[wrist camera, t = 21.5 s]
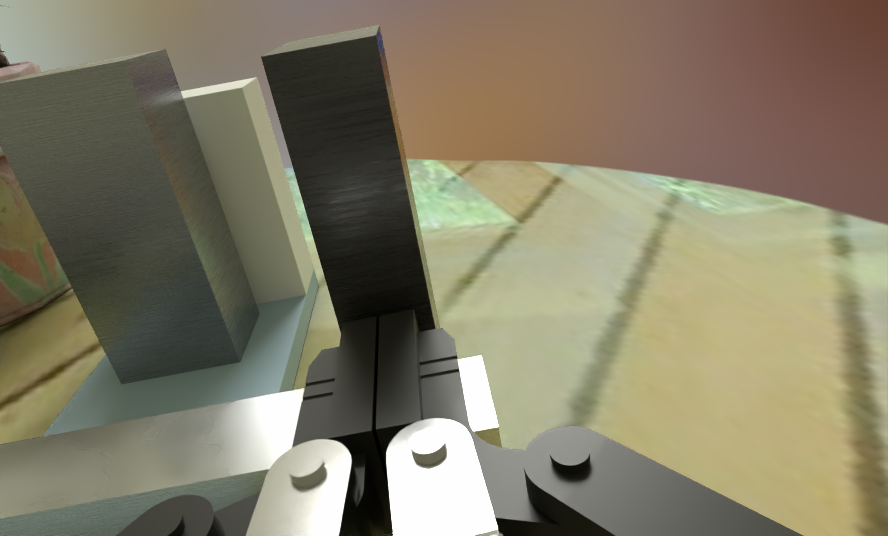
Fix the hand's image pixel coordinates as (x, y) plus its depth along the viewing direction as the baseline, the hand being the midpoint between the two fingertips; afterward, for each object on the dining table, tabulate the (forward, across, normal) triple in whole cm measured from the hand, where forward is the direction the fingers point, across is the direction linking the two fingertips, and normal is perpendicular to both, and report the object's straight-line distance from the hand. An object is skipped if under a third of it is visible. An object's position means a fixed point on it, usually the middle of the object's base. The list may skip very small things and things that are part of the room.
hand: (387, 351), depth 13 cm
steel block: (+12, +10, +6) cm, 17 cm away
